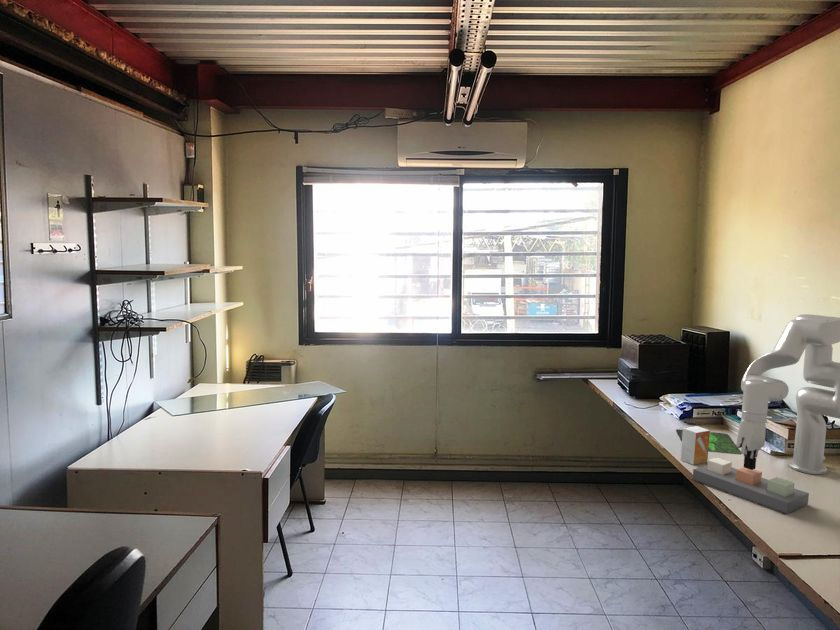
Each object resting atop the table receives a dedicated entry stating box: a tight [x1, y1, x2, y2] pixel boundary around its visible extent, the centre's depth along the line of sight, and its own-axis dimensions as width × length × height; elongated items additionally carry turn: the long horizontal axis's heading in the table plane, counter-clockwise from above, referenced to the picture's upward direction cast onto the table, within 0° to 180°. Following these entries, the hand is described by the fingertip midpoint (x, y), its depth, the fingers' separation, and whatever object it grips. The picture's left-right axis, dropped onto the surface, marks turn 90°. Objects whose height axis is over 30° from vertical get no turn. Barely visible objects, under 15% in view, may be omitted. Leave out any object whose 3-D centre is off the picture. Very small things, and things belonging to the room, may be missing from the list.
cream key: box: [707, 456, 733, 475], centre depth 212 cm, size 6×6×5 cm
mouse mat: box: [675, 428, 743, 455], centre depth 256 cm, size 27×22×1 cm
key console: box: [692, 464, 810, 515], centre depth 203 cm, size 14×32×4 cm, turn 33°
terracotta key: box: [736, 466, 763, 486], centre depth 203 cm, size 6×6×5 cm
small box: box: [679, 425, 711, 466], centre depth 231 cm, size 8×6×13 cm
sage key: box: [767, 476, 795, 497], centre depth 194 cm, size 6×6×5 cm
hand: (749, 468), depth 202 cm, fingers closed
